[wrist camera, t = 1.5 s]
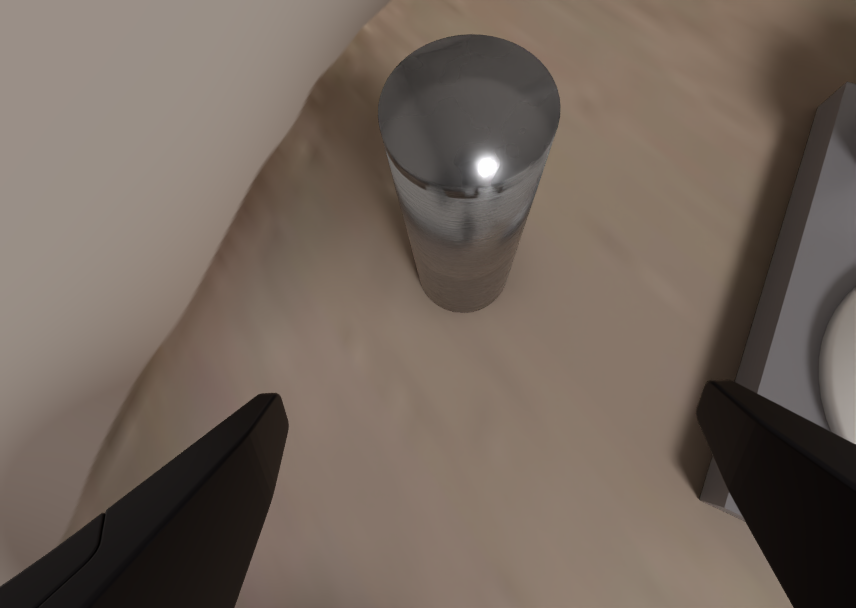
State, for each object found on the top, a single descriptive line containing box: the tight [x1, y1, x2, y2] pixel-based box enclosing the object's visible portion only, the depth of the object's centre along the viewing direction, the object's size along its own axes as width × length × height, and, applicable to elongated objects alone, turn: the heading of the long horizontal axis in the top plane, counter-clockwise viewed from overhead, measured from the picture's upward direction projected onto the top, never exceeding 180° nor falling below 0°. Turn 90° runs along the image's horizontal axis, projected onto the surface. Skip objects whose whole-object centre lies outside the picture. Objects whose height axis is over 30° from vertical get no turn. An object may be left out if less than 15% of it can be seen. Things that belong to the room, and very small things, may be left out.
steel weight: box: [378, 34, 560, 313], centre depth 18 cm, size 5×5×13 cm
